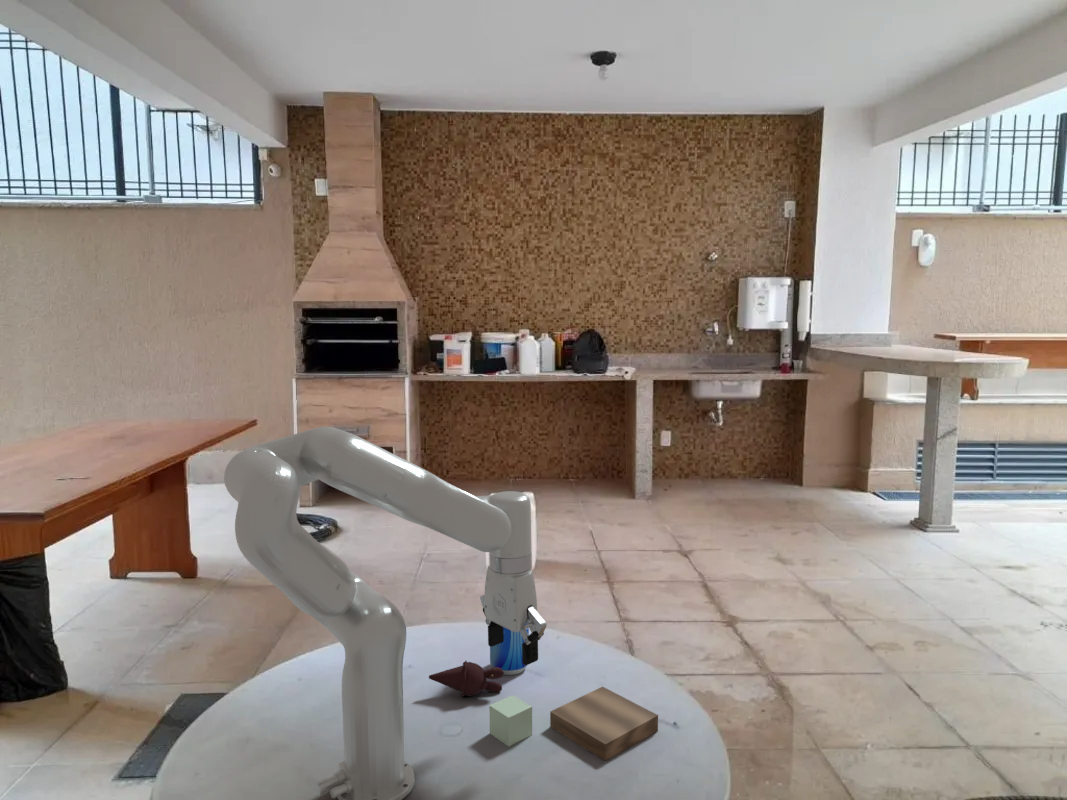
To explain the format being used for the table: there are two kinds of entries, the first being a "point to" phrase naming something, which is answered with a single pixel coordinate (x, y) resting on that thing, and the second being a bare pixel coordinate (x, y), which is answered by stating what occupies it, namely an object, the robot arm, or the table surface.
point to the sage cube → (510, 720)
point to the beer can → (508, 653)
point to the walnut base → (604, 722)
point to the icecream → (469, 678)
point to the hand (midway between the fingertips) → (512, 653)
